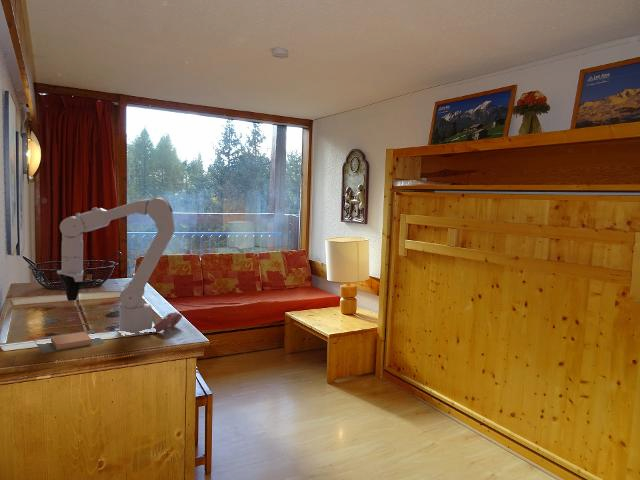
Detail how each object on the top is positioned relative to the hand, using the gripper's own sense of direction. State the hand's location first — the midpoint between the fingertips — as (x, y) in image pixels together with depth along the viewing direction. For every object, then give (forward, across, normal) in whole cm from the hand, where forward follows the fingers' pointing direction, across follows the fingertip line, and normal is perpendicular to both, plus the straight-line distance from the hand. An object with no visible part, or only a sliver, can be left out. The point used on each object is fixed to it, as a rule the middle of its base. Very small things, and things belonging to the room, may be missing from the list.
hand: (71, 300), depth 142 cm
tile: (+9, +7, -3) cm, 12 cm away
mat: (+10, +8, -3) cm, 13 cm away
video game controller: (+11, +11, +26) cm, 30 cm away
